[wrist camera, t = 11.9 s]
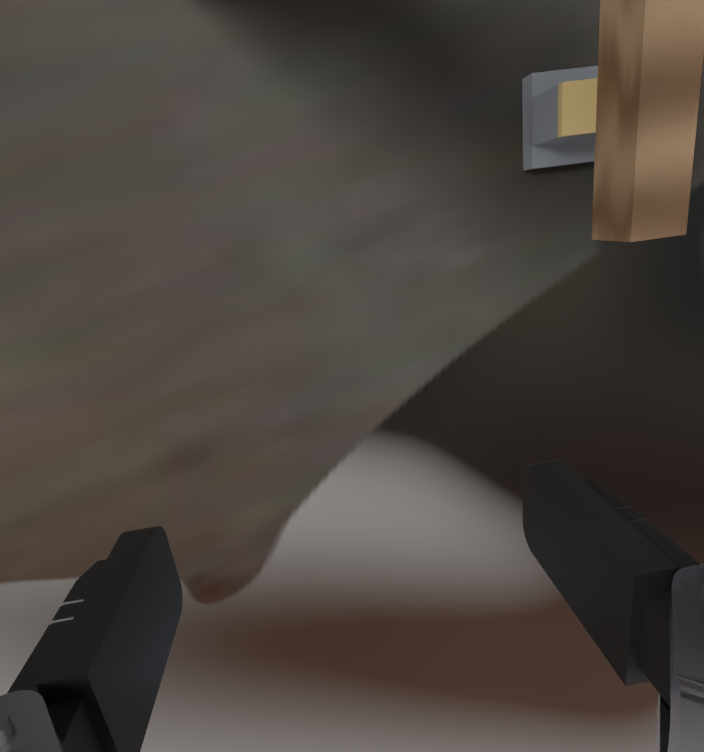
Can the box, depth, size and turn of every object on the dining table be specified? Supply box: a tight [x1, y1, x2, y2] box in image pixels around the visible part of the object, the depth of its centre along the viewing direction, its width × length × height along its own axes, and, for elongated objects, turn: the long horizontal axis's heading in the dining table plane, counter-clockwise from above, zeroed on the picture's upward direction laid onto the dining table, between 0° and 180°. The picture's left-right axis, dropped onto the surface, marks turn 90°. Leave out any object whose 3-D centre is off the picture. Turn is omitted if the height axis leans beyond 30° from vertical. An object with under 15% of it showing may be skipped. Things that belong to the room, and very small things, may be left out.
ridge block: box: [522, 66, 598, 171], centre depth 32 cm, size 6×8×6 cm
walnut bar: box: [592, 0, 704, 242], centre depth 28 cm, size 16×4×4 cm, turn 7°
